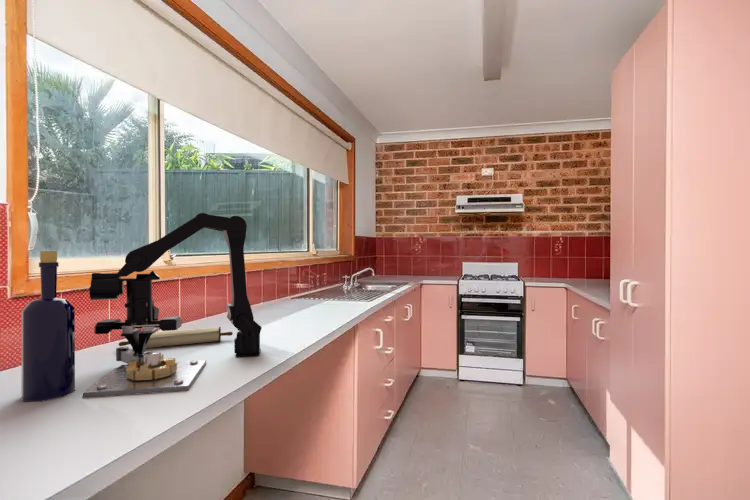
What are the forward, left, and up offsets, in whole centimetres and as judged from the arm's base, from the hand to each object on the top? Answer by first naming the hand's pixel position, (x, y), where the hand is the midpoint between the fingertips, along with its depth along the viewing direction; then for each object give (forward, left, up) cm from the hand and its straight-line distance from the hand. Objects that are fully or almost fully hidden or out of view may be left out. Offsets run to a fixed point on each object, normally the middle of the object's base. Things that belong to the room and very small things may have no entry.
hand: (140, 358), depth 102 cm
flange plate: (-6, +11, -2) cm, 13 cm away
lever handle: (-2, +6, -1) cm, 7 cm away
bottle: (+12, +17, -2) cm, 21 cm away
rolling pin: (-4, -23, -3) cm, 23 cm away
